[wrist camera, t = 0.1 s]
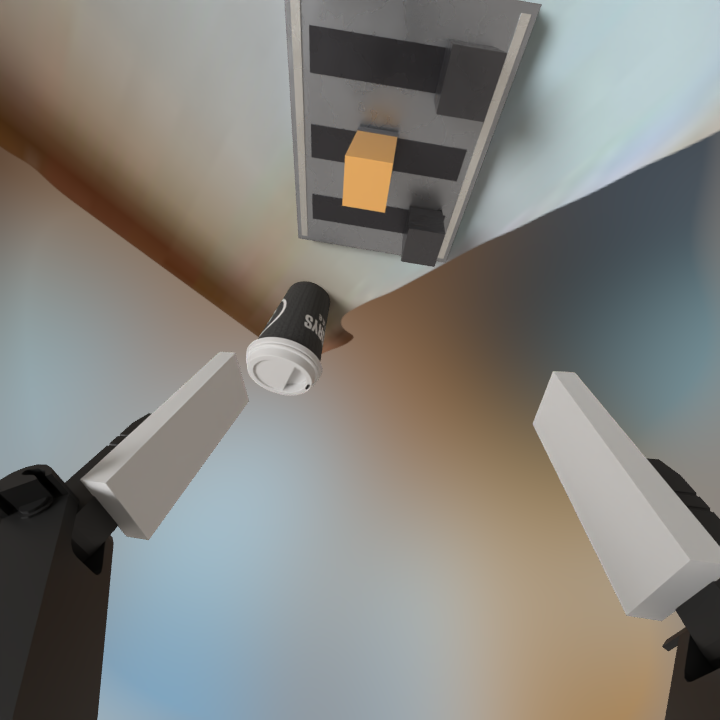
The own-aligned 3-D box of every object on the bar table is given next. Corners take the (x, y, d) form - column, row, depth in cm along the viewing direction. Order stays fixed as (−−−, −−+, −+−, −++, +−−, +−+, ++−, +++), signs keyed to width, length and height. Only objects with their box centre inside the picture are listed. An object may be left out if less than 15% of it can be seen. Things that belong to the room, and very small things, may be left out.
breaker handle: (358, 126, 26) (344, 154, 21) (398, 132, 26) (394, 162, 21) (355, 171, 29) (341, 206, 24) (391, 177, 29) (385, 213, 24)
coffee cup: (312, 330, 50) (287, 406, 41) (265, 294, 46) (225, 369, 36) (352, 304, 45) (334, 384, 35) (304, 259, 40) (269, 338, 30)
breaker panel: (290, -37, 21) (256, -48, 17) (534, 4, 21) (565, 3, 17) (302, 230, 37) (286, 261, 32) (444, 253, 37) (448, 288, 32)
